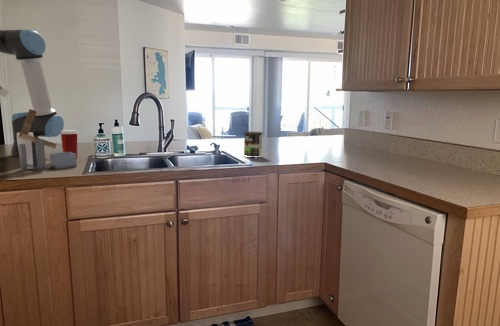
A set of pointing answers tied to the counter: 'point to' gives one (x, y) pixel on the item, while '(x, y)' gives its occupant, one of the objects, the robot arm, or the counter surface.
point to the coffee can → (253, 143)
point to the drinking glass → (28, 147)
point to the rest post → (23, 157)
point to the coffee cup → (69, 141)
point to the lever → (27, 127)
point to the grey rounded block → (63, 160)
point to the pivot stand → (38, 155)
